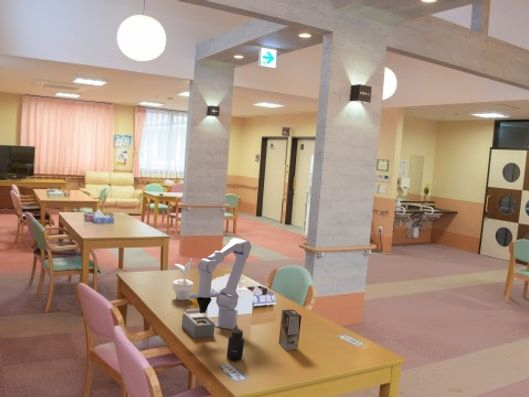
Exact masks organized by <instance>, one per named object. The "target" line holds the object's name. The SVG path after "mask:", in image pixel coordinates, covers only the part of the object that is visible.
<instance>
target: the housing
mask: <svg viewBox="0 0 529 397" xmlns="http://www.w3.org/2000/svg"><path fill="white" fill-rule="evenodd" d="M202 314H203V315H204V316H205V318H198V319H192V318H191V317H190V316H189V315H188V314H187V313H186V311H183V314H182V315H181V316H182V318H181V327H182V328H183V329H184V330H185V331H186V332H187V333H188V334H189V335H190V336H191V337H192V338H193V339H197V338H198V339H199V338H200V339H201V338H209V337H214V336H215V335H214V334H215V325H216V323H215V321H214V320H213V319H211V318H210V317H209V316H208V315H207V314H206V313H202ZM198 323H204V324H198Z"/></svg>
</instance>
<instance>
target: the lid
mask: <svg viewBox="0 0 529 397" xmlns="http://www.w3.org/2000/svg"><path fill="white" fill-rule="evenodd" d="M185 312H186V313H187V314H188V315H189V316H190V317H191V318H192V319H198V318H205V316H204V315H203V314H201V313H200V311H199V308H192V309H190V308H188V309H186V311H185Z"/></svg>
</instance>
